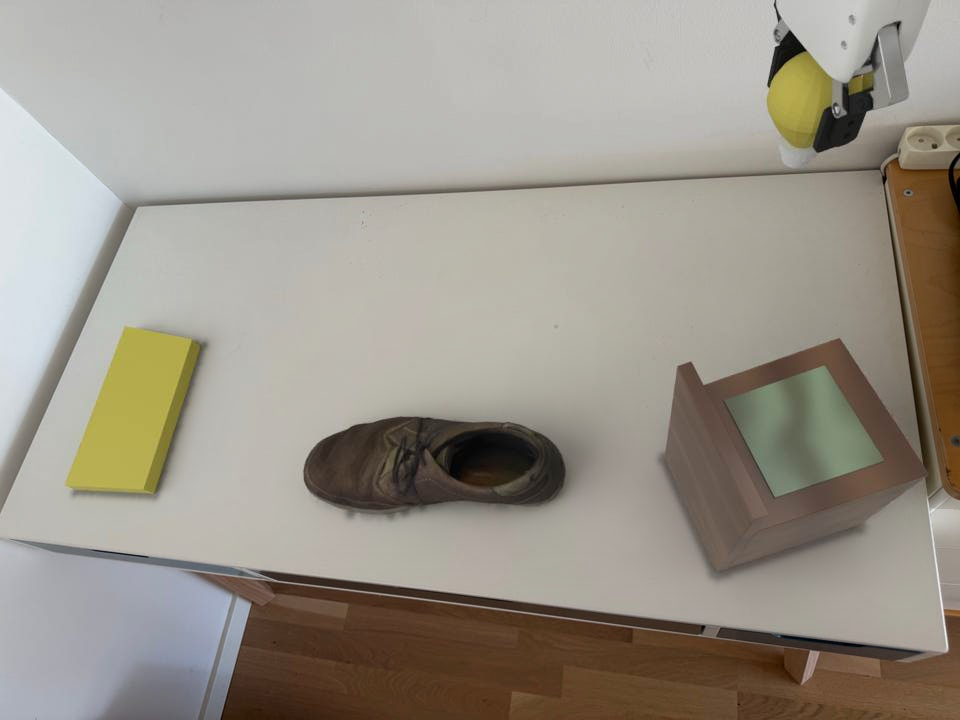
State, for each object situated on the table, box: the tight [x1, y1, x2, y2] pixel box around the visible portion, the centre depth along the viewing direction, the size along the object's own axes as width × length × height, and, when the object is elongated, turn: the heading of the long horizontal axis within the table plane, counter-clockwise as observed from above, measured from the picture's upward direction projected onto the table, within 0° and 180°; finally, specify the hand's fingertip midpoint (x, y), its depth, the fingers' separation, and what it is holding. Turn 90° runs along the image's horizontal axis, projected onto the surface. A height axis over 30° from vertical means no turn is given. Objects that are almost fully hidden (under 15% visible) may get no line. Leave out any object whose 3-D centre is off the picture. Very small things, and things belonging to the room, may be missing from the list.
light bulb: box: [765, 51, 863, 169], centre depth 52 cm, size 7×7×10 cm
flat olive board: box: [64, 325, 202, 495], centre depth 90 cm, size 12×2×24 cm
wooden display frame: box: [664, 337, 930, 573], centre depth 59 cm, size 15×13×24 cm
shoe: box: [302, 416, 566, 515], centre depth 74 cm, size 12×31×10 cm, turn 80°
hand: (809, 111), depth 52 cm, fingers closed on light bulb, 6 cm apart
